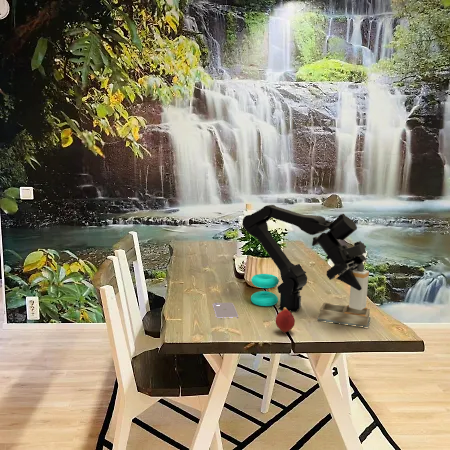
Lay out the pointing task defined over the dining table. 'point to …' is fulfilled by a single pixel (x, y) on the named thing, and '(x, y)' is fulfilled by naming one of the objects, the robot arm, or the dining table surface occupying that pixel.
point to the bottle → (359, 296)
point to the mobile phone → (225, 310)
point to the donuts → (264, 296)
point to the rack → (344, 315)
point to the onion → (285, 320)
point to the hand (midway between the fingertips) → (363, 288)
